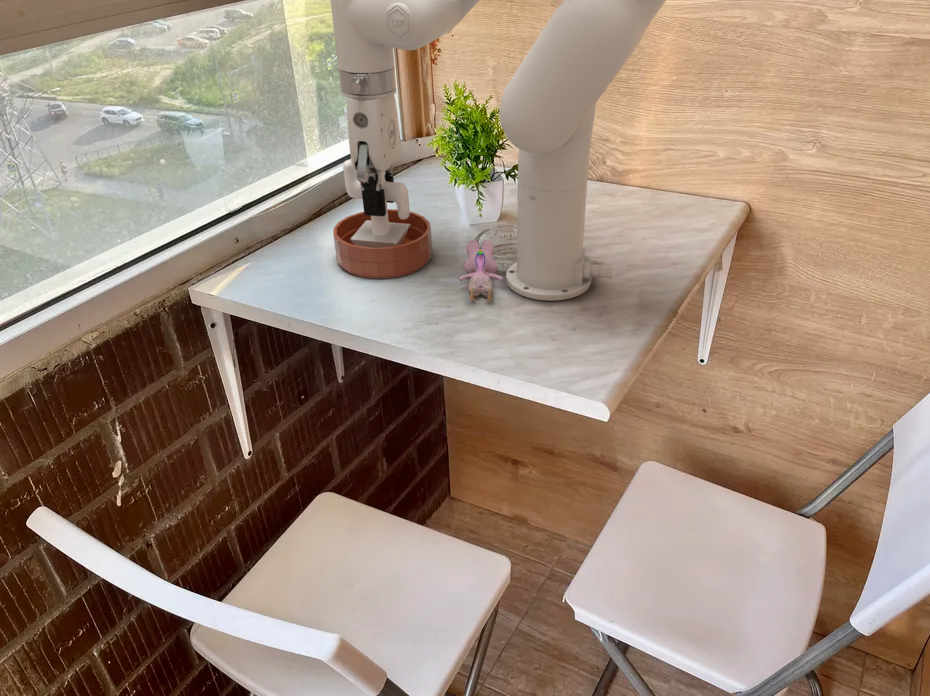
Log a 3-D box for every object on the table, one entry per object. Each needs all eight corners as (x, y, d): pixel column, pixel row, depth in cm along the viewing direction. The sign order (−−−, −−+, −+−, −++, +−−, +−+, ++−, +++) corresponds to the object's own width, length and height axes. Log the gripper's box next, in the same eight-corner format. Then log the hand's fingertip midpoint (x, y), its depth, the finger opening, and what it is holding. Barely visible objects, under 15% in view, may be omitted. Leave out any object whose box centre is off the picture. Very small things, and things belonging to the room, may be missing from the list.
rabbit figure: (502, 310, 109) (500, 249, 120) (503, 277, 105) (500, 216, 116) (459, 311, 109) (460, 250, 120) (457, 277, 105) (459, 217, 115)
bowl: (440, 241, 125) (439, 212, 122) (420, 282, 113) (417, 251, 110) (353, 235, 126) (350, 206, 123) (324, 276, 115) (319, 245, 112)
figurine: (405, 266, 116) (397, 169, 107) (346, 260, 117) (333, 164, 109) (418, 246, 122) (412, 152, 113) (362, 241, 123) (351, 148, 115)
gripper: (377, 99, 97) (389, 233, 108) (409, 67, 111) (417, 189, 121) (320, 96, 98) (338, 229, 109) (359, 65, 112) (371, 186, 122)
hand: (380, 207), depth 115 cm, fingers open, 4 cm apart
